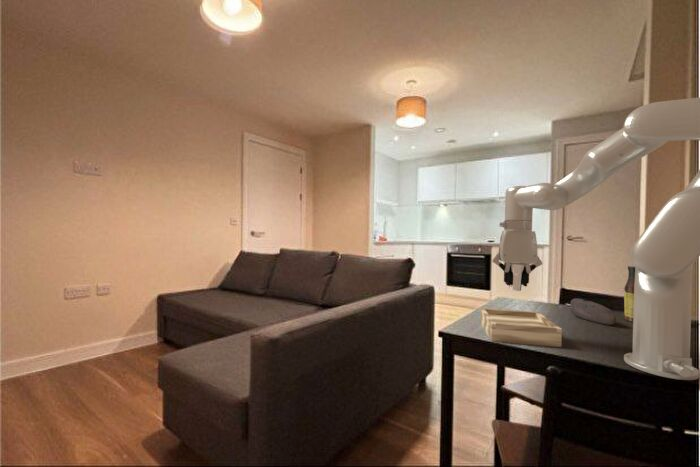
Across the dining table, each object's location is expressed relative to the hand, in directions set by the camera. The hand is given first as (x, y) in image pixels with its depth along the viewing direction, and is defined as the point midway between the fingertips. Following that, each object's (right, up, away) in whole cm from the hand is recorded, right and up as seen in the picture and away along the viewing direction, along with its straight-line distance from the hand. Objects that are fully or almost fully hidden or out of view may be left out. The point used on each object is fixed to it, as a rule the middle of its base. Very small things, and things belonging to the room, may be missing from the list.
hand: (516, 284), depth 96 cm
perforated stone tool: (+35, -16, +14) cm, 41 cm away
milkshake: (0, -2, 0) cm, 2 cm away
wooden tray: (0, -16, 0) cm, 16 cm away
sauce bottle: (+51, -16, +15) cm, 55 cm away
